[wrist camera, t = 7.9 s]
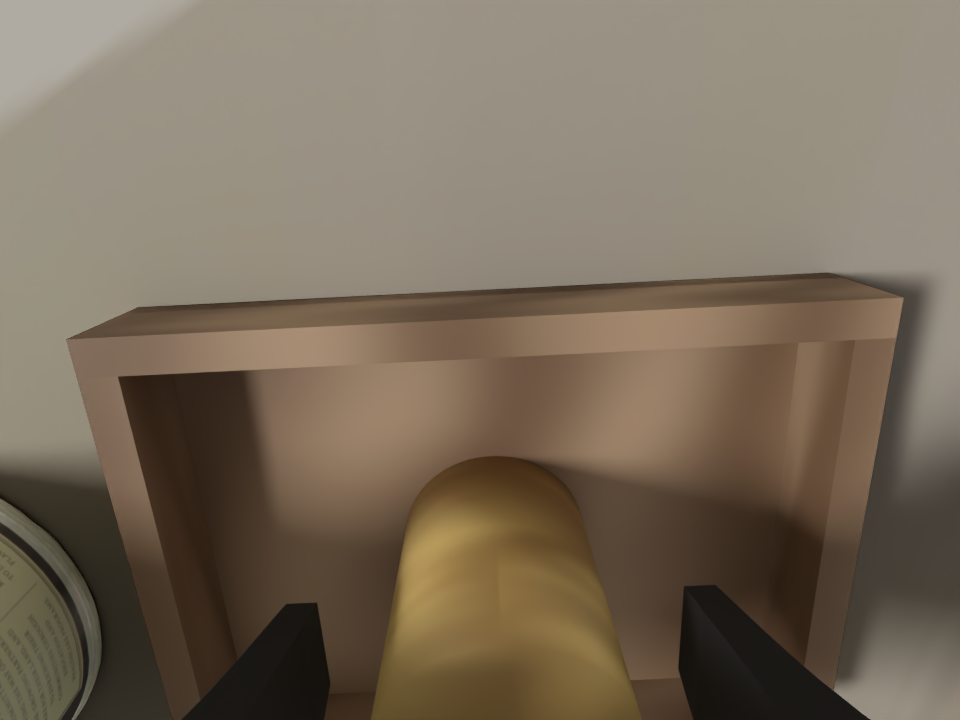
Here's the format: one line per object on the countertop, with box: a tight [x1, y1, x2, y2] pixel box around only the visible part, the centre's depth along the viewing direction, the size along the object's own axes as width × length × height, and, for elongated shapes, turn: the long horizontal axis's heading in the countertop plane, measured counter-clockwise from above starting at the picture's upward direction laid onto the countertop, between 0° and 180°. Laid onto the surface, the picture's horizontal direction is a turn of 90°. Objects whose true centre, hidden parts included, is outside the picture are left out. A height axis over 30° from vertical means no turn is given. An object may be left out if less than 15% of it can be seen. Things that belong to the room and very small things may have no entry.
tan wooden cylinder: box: [371, 456, 642, 720], centre depth 13 cm, size 4×4×6 cm
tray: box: [66, 273, 904, 720], centre depth 15 cm, size 16×12×3 cm
